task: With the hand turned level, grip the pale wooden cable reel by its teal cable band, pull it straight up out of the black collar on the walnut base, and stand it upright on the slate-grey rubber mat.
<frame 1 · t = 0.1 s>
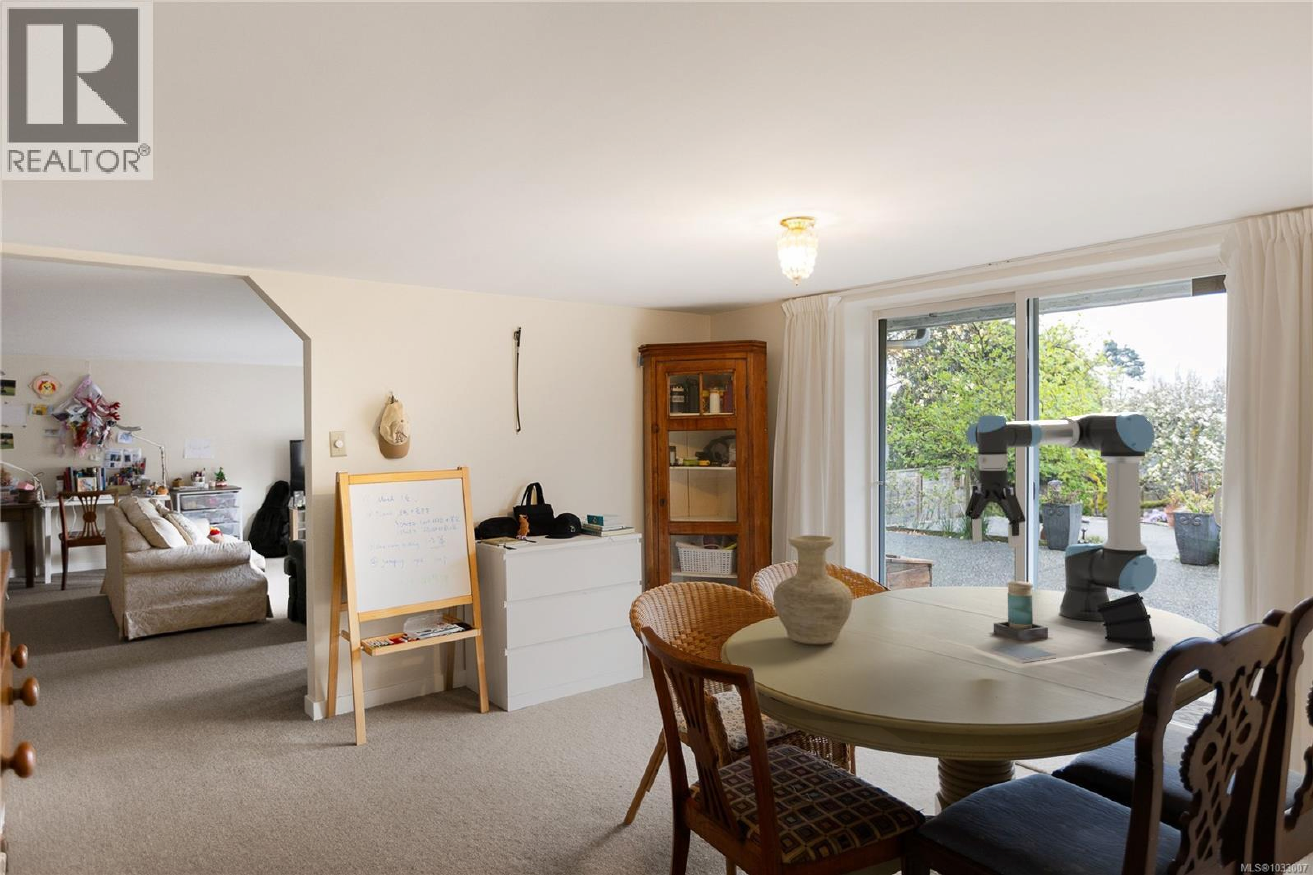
hand: (994, 544, 221), 28 cm above the table, tool pointing down, fingers open, 13 cm apart
magazine: (1125, 647, 215), on the table
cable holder: (1020, 639, 224), on the table
cable reel: (1020, 635, 224), point 1 cm above the table, touching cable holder
rubber mat: (1023, 655, 209), on the table
vase: (813, 642, 226), on the table
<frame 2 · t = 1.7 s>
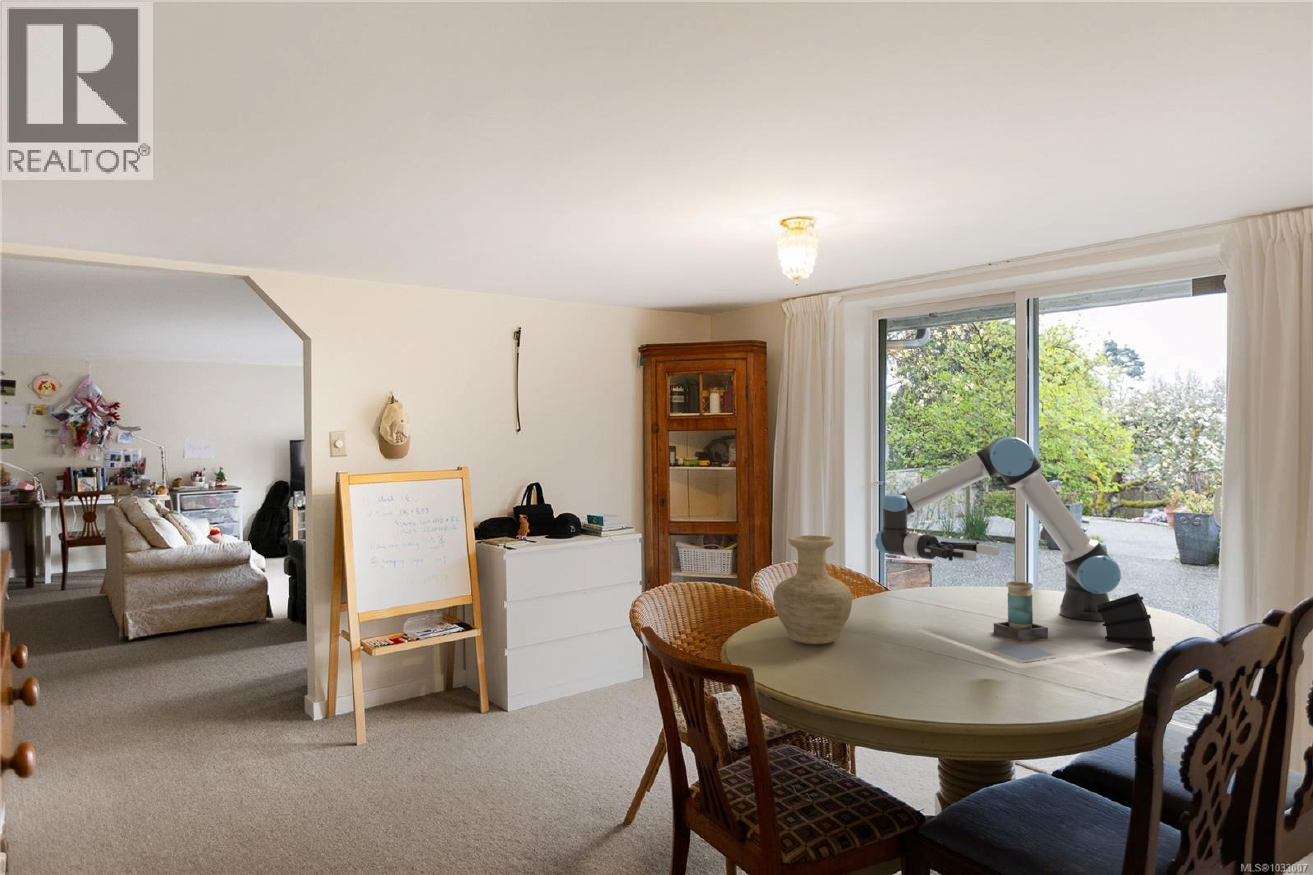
hand: (986, 553, 232), 24 cm above the table, tool horizontal, fingers open, 13 cm apart
nothing on the table moved.
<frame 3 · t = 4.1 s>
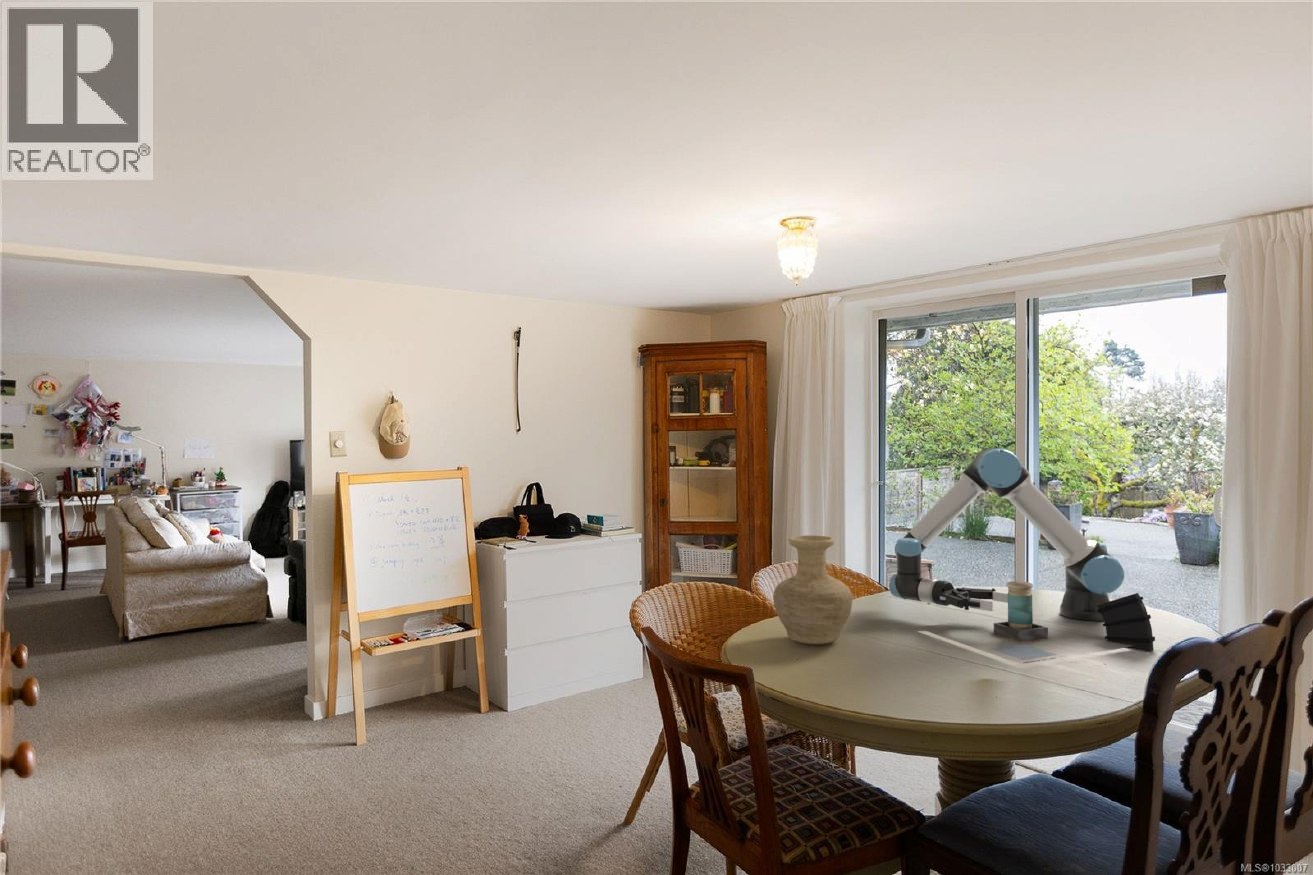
hand: (1003, 602, 228), 10 cm above the table, tool horizontal, fingers open, 13 cm apart
nothing on the table moved.
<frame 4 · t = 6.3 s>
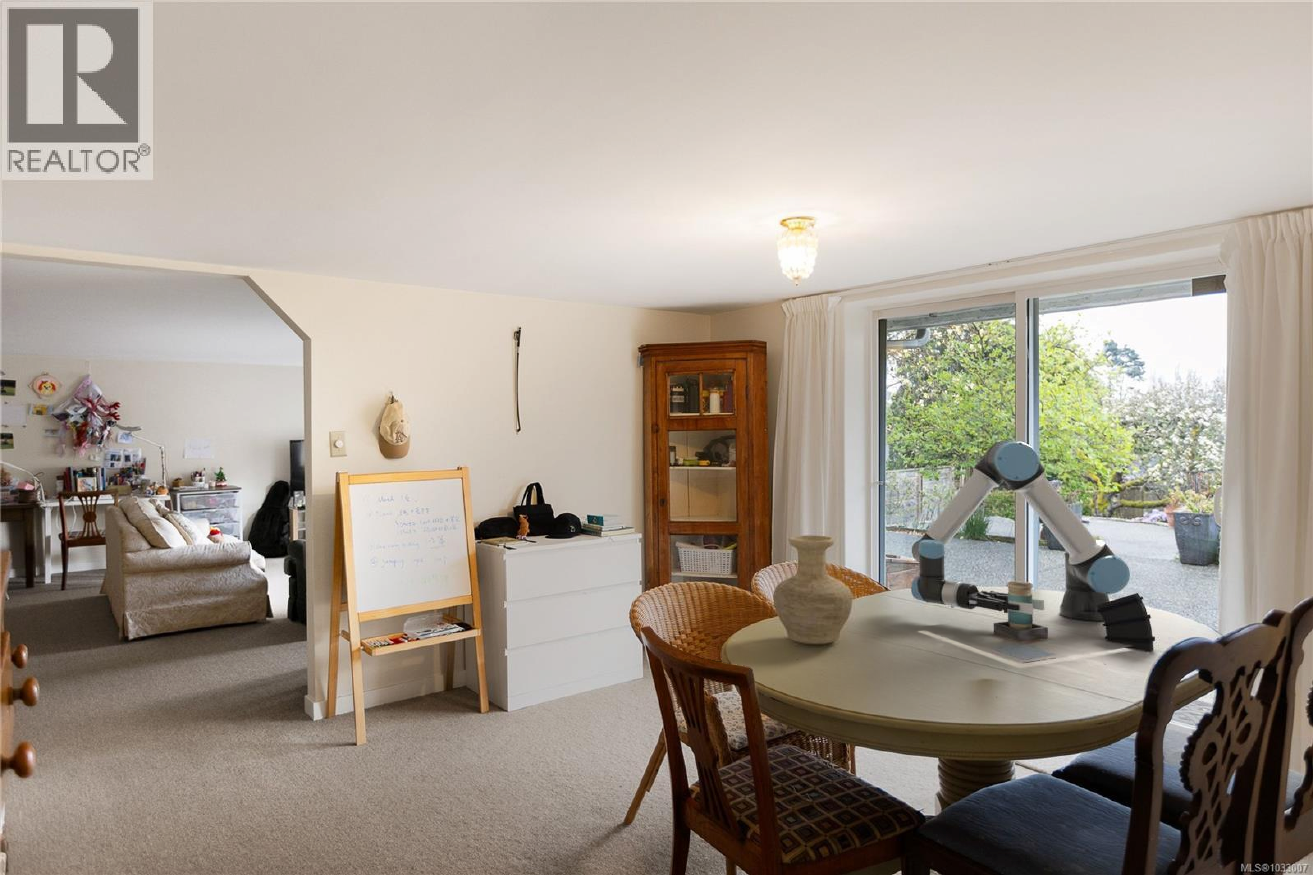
hand: (1037, 607, 220), 10 cm above the table, tool horizontal, fingers closed on cable reel, 6 cm apart
cable reel: (1020, 635, 224), point 1 cm above the table, touching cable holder, gripper
everything else where it was.
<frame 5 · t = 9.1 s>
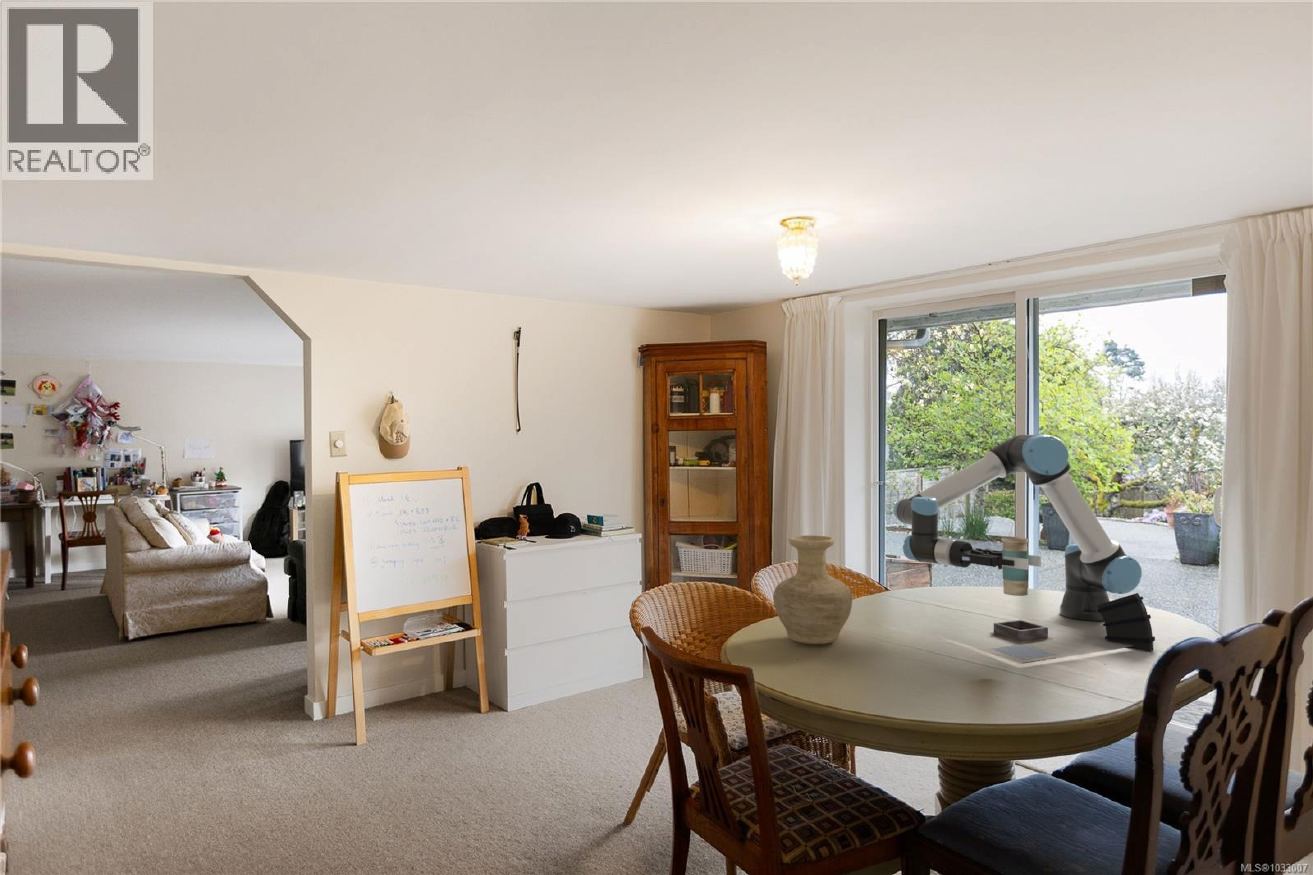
hand: (1033, 563, 209), 25 cm above the table, tool horizontal, fingers closed on cable reel, 6 cm apart
cable reel: (1015, 593, 213), point 16 cm above the table, touching gripper
everything else where it was.
when the fingers open (11 cm above the table, at t = 12.2 s): cable reel drops 1 cm, resting on rubber mat.
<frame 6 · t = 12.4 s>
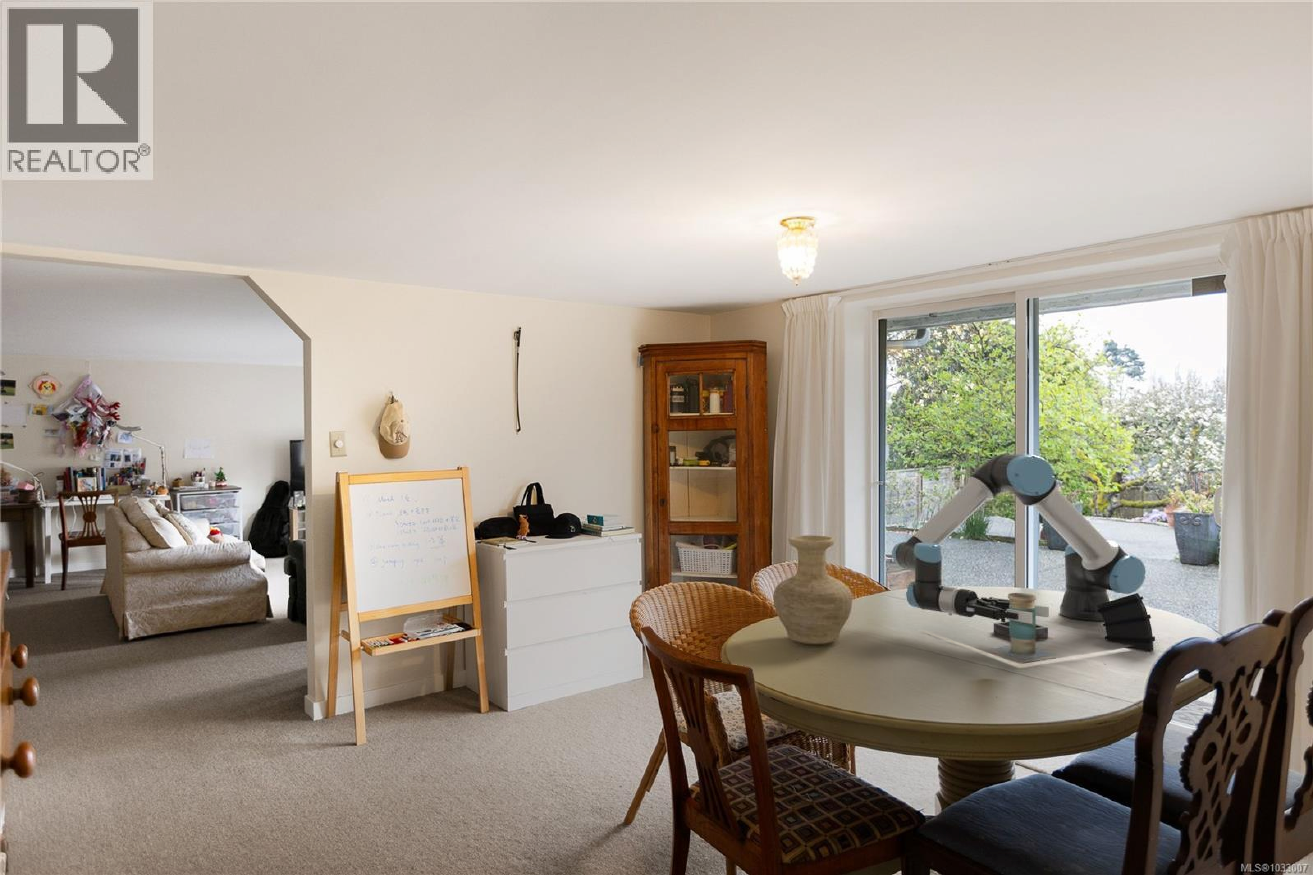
hand: (1040, 615, 205), 11 cm above the table, tool horizontal, fingers open, 9 cm apart
cable reel: (1023, 651, 209), point 1 cm above the table, touching rubber mat
everything else where it was.
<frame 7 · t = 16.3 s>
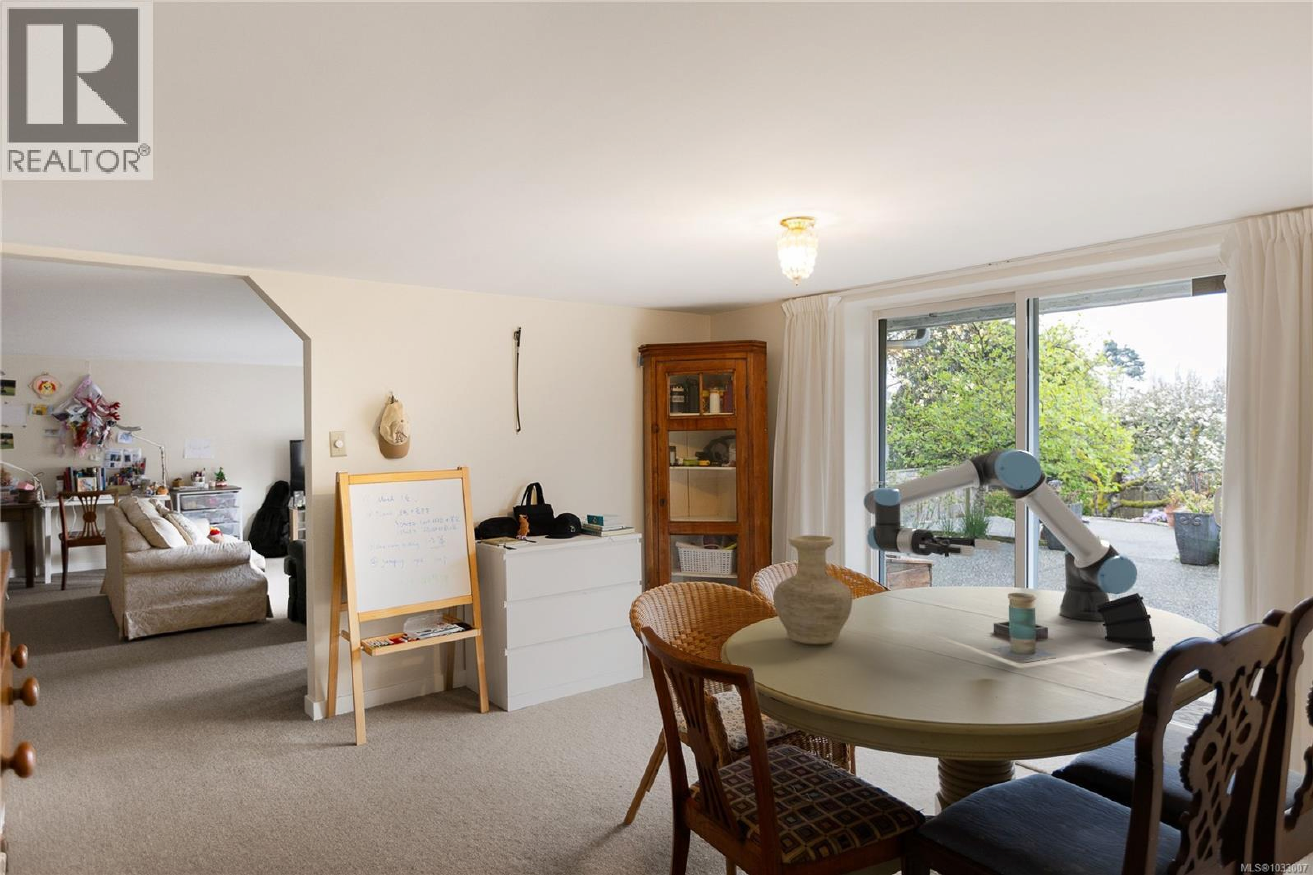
hand: (985, 548, 216), 28 cm above the table, tool horizontal, fingers open, 13 cm apart
nothing on the table moved.
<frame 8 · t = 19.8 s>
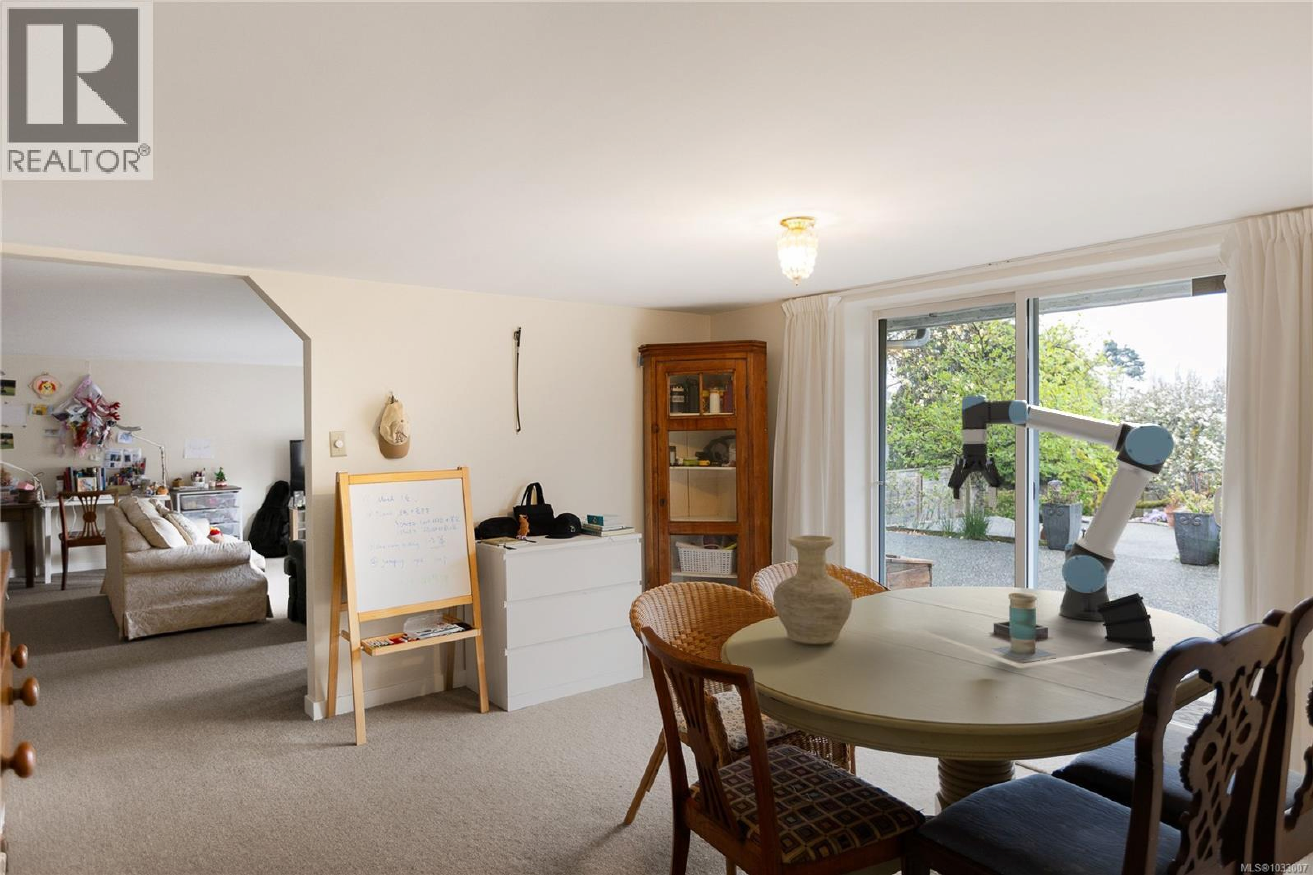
hand: (975, 508, 254), 35 cm above the table, tool pointing down, fingers open, 13 cm apart
nothing on the table moved.
at the end: cable reel inside the target area on the rubber mat (0.1 cm from its centre), point 1.0 cm above the rubber mat's base; cable reel tilted 0°; the gripper is holding nothing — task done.
